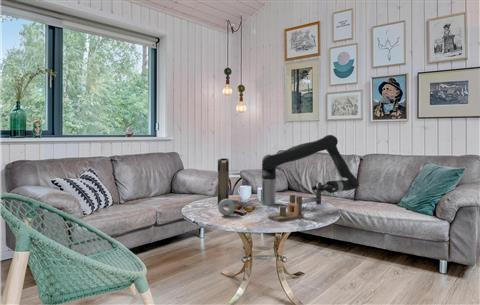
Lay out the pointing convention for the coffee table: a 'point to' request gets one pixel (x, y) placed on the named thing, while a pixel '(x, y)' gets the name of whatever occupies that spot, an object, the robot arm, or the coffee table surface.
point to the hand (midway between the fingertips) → (315, 188)
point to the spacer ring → (296, 208)
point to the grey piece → (317, 198)
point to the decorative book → (223, 179)
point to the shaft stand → (286, 216)
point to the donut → (223, 203)
